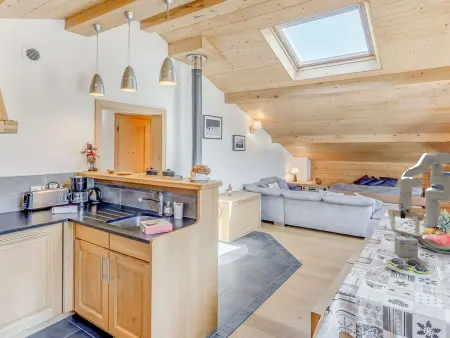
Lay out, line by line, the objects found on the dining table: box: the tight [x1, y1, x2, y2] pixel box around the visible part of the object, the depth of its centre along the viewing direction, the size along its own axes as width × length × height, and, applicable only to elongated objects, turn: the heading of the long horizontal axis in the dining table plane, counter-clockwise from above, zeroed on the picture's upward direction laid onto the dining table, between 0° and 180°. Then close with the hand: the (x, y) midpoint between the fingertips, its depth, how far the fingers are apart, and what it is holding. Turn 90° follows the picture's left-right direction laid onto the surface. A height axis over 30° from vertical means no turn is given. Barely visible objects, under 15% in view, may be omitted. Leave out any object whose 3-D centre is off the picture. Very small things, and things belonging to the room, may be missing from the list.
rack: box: [387, 212, 423, 237], centre depth 222 cm, size 7×23×14 cm, turn 30°
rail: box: [387, 208, 425, 222], centre depth 221 cm, size 4×24×4 cm, turn 30°
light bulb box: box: [394, 236, 419, 259], centre depth 175 cm, size 11×7×11 cm, turn 84°
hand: (405, 217), depth 221 cm, fingers open, 5 cm apart
